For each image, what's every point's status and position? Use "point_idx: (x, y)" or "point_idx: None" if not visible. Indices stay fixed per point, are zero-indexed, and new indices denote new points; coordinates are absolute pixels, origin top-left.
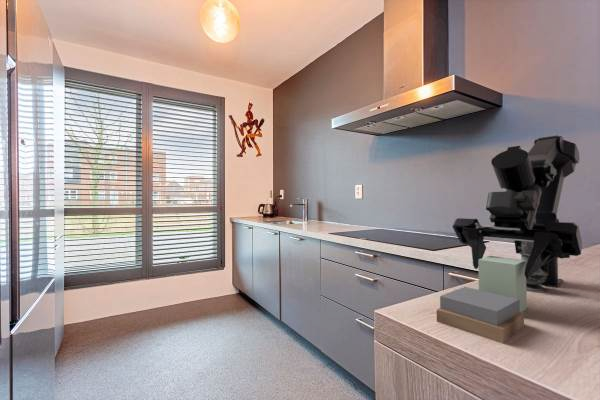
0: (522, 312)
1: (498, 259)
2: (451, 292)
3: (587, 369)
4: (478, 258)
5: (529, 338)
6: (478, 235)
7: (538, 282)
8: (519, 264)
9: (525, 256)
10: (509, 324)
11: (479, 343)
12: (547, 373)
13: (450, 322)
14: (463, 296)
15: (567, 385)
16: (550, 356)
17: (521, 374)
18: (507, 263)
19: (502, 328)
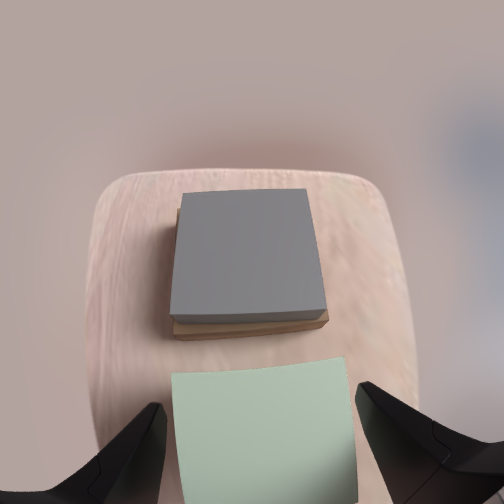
0: (175, 329)
1: (283, 447)
2: (310, 228)
3: (95, 239)
4: (377, 423)
5: (157, 277)
6: (469, 481)
7: None
8: (176, 431)
9: None
10: (175, 238)
11: None
12: (129, 194)
13: None
14: (274, 223)
15: (114, 189)
16: (127, 237)
17: (150, 173)
18: (207, 377)
19: (179, 210)
